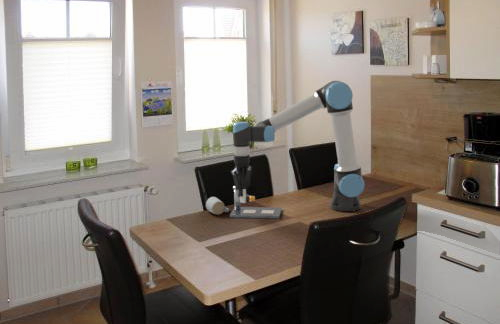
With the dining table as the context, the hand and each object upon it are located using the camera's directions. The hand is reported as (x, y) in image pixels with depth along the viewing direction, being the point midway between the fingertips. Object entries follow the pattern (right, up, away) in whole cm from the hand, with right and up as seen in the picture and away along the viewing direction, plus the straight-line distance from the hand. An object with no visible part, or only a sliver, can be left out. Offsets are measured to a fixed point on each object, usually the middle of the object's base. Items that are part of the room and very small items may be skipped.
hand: (242, 202), depth 251 cm
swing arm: (+2, +1, +4) cm, 4 cm away
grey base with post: (+6, -6, +7) cm, 11 cm away
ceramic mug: (-13, -6, +10) cm, 17 cm away
